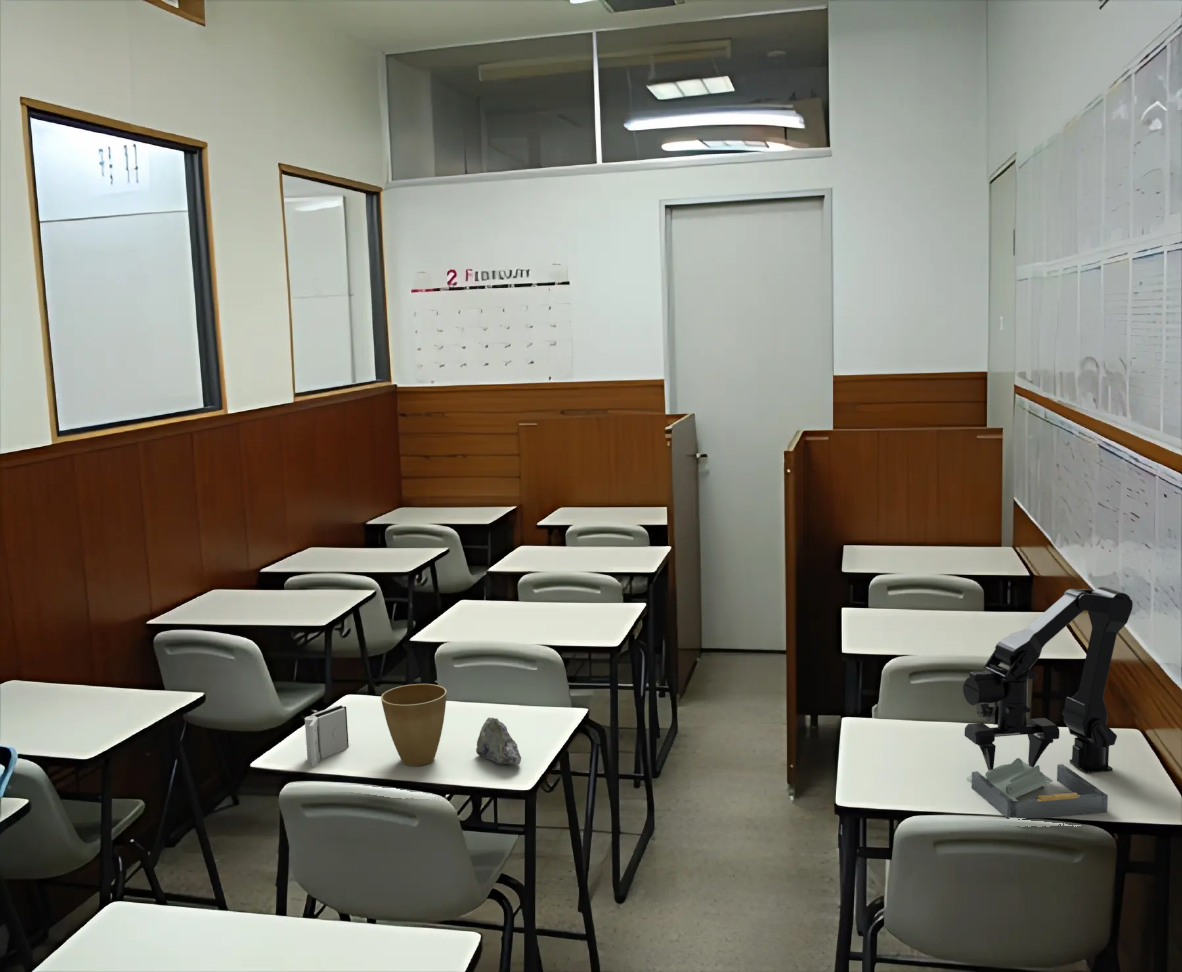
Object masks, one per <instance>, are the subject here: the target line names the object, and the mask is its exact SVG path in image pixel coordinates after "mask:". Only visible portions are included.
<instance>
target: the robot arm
mask: <svg viewBox="0 0 1182 972" xmlns="http://www.w3.org/2000/svg"><path fill="white" fill-rule="evenodd" d="M1133 606H1134V603H1133V600H1132V599H1131V597H1130V595H1128V594H1127V593H1124V592H1121V591H1118V590H1114V589H1111V588H1108V587H1106V586H1105V587H1104V586H1099V587H1097V588H1096V589H1095V590H1094V589H1084V588H1082V589H1081V588H1080V589H1077V588H1069V589H1066V590H1065V592H1064V593H1063V595H1062V596H1060V598H1059V599H1058V600H1057V601H1056V602H1054V603H1053V604H1052V605H1051V606H1050V607H1049V608H1047V609H1046V610H1045V611H1044V612H1043V613H1042V614H1041V615H1039V616H1038V617H1037V618H1036V619H1035V620H1034V621H1033V622H1031V623H1030V624H1029V626H1027V627H1026V628H1024V629H1022V630H1019V631H1015V632H1012V633H1010V634H1009V635H1007V636H1005V637H1003V638H1002V639H1001V640H999V641H998V642H997V643H996V645H995V647H994V651H993V653H992V654H991V655H990V657H989V658H988V659H987V662H986V663H985V665H984V666H983V670H985V671H983V670H982V671H970V672H969V677H968V678H966V679H965V681H964V683H963V684H962V691H963V696H964V698H965V700H966V702H967V703H968V704H969V705H970V706H976V715H977V717H978V718H984V719H985V721H986V722H990V721H991V723H992V724H993V725H995V726H994V727H990V726H988V725H986V724H985V723H984V722H973V723H967V725H966V726H965V727H964V737H965V738H966V739H968V740H970V742H972V743H974V744H975V745H977V746H979V749H980V751H981V752H982V753H981V754H982V756H983V758H984V762H985V765H986V767H987V771H989V770H992V769H994V768H995V767H994V766H995V759H996V758H995V757H996V748H997V745H996V744H995V743H994V742H995V739H996V738H999V737H1012V736H1021V735H1023V736H1025V735H1027V737H1028V738H1027V739H1028V741H1029V742H1028V743H1029V744H1028V757H1027V758H1028V760H1027V762H1028V763H1027V764H1028V765H1029V766H1031V767H1035V766H1036V764H1037V763H1038V761H1039V759H1040V758H1041V756H1042V754H1043V753H1044V752H1045V750H1046V749H1047V748H1048V746H1050V744H1053V743H1054V740H1058V739H1060V728H1059V726H1058V725H1057V724H1055V723H1054V722H1053V721H1051V720H1049V719H1048V718H1046V717H1038V718H1037V717H1036V718H1030V719H1029V720H1027V718H1028V713H1031V707H1030V706H1029V705H1028V693H1029V692H1028V689H1029V684H1028V683H1029V680H1033V679H1037V678H1038V675H1037V674H1036V673H1035V672H1034V671H1032V669H1031V668H1032V666H1033V665H1034V664H1035V663H1036V662H1037V661H1038V659H1039V658H1040V657H1041V653H1042V649H1043V648H1044V647H1045V646H1046V644H1047V643H1048V642H1050V641H1051V640H1052V639H1053V638H1054V637H1055V636H1056V635H1058V634H1059V633H1060V632H1061V631H1062V630H1064V629H1065V628H1066V627H1067V626H1068V625H1069V624H1070V623H1071V622H1072V621H1074V620H1075V619H1076V618H1077V617H1078V616H1079V615H1080V614H1082V613H1083V612H1084V611H1087V613H1088V617H1089V621H1090V624H1091V631H1090V637H1089V641H1088V646H1087V650H1086V655H1085V659H1084V664H1083V669H1082V673H1081V679H1080V683H1079V687H1078V691H1077V692H1076V693H1075V694H1074V695H1073V696H1072V697H1069V696H1066V698H1065V699H1064V701H1065V702H1064V707H1063V710H1062V712H1061V714H1062V715H1063V723H1064V724H1065V725H1066V727H1067V729H1068V731H1069V734H1070V735H1072V736H1075V737H1074V742H1073V743H1074V744H1073V745H1072V748H1071V749H1072V752H1071V753H1072V754H1071V759H1069V763H1070V764H1072V765H1073V766H1075V767H1077V769H1079V770H1080V771H1082V772H1084V773H1085V774H1087V773H1101V772H1111V771H1113V767H1112V766H1111V765H1109V758H1110V757H1109V756H1110V755H1109V753H1110V746H1114V745H1115V743H1116V742H1117V741H1116V740H1117V738H1118V735H1117V734H1116V733H1115V732H1114V731H1113V730H1112V729H1111V728H1110V726H1108V725H1107V724H1108V711H1107V707H1106V703H1105V700H1104V694H1105V690H1106V685H1107V681H1108V676H1109V671H1110V667H1111V663H1112V657H1113V653H1114V650H1115V644H1116V641H1117V640H1116V639H1117V635H1118V633H1119V632H1120V631H1121V630H1122V629H1123V627H1125V626H1126V624H1128V620H1129V619H1130V616H1131V613H1132V610H1133ZM1000 665H1002V666H1004V667H1002V666H1000ZM1005 667H1007V668H1009V669H1007V668H1005ZM993 703H994V705H989V704H993Z"/></svg>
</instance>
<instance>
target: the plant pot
mask: <svg viewBox="0 0 1182 972" xmlns="http://www.w3.org/2000/svg"><path fill="white" fill-rule="evenodd" d="M447 692H448V691H447V689H446V688H445V687H444V686H440V685H437V684H431V683H415V684H413V683H412V684H406V685H401V686H397V687H393V688H391V689H388V690H386V691H384V693H382V694H381V696H380V701H381V705H382V708H383V713H384V718H385V720H386V725H387V729H388V731H389V734H390V737H391V740H392V742H393V745H394V748H395V750H396V752H397V754H398V756H399V758H400V761H401V763H402V764H403V765H405V766H410V767H421V766H424V765H428V764H431V763H432V762H433V761H434V760H435V758H436V755H437V752H438V749H439V745H440V740H441V736H442V732H443V727H444V720H445V715H446V707H447V706H446V705H447Z"/></svg>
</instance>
